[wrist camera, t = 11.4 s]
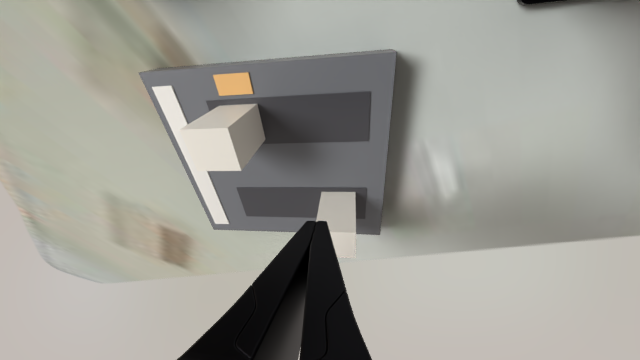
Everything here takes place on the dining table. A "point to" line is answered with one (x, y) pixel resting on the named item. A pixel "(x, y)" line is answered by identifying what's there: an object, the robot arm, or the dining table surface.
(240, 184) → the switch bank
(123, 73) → the dining table surface
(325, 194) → the switch tab
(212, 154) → the switch tab
